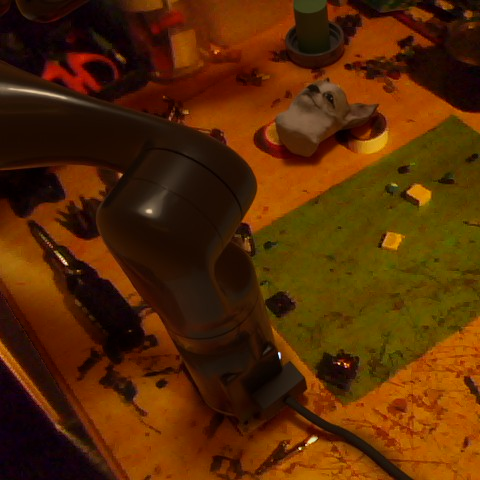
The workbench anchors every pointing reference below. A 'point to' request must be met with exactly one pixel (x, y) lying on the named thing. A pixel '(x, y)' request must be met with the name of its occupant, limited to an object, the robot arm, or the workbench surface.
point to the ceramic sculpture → (318, 117)
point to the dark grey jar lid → (319, 58)
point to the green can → (312, 26)
